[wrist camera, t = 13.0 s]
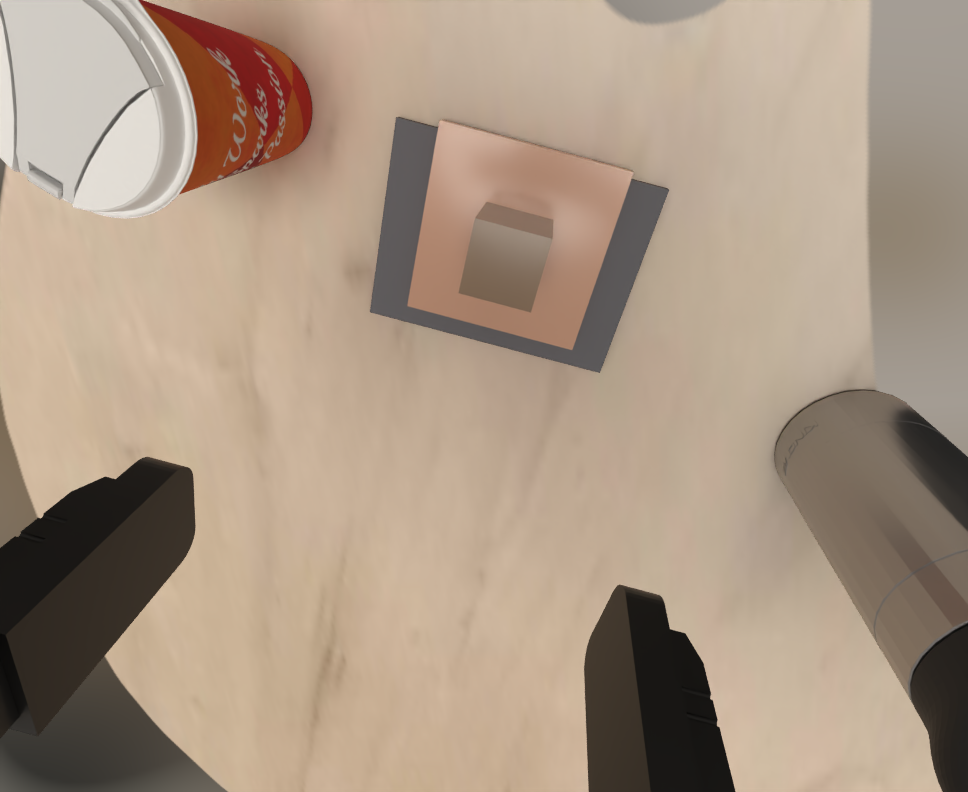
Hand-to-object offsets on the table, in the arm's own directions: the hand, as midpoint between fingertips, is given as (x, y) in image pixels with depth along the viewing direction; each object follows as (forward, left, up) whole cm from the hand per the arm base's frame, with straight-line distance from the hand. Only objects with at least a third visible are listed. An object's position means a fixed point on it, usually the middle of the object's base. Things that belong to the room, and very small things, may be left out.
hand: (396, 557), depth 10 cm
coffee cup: (+16, -4, -28) cm, 32 cm away
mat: (0, +1, -27) cm, 27 cm away
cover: (0, 0, -27) cm, 27 cm away
